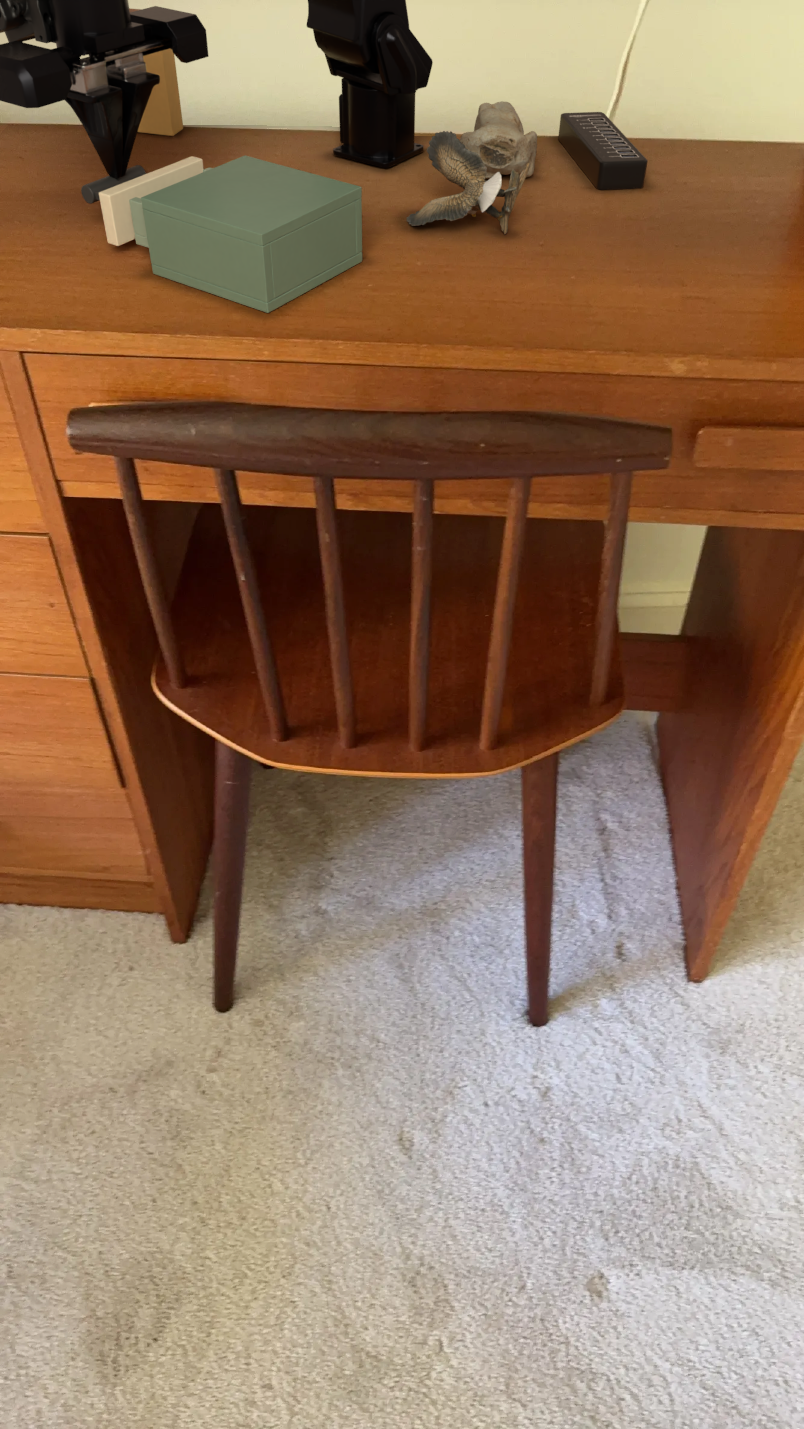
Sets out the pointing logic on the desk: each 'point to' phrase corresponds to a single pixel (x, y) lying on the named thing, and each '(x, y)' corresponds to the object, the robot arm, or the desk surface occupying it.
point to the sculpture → (501, 140)
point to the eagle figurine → (466, 184)
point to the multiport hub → (602, 151)
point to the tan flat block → (162, 96)
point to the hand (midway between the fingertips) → (116, 176)
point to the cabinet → (254, 231)
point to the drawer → (134, 197)
